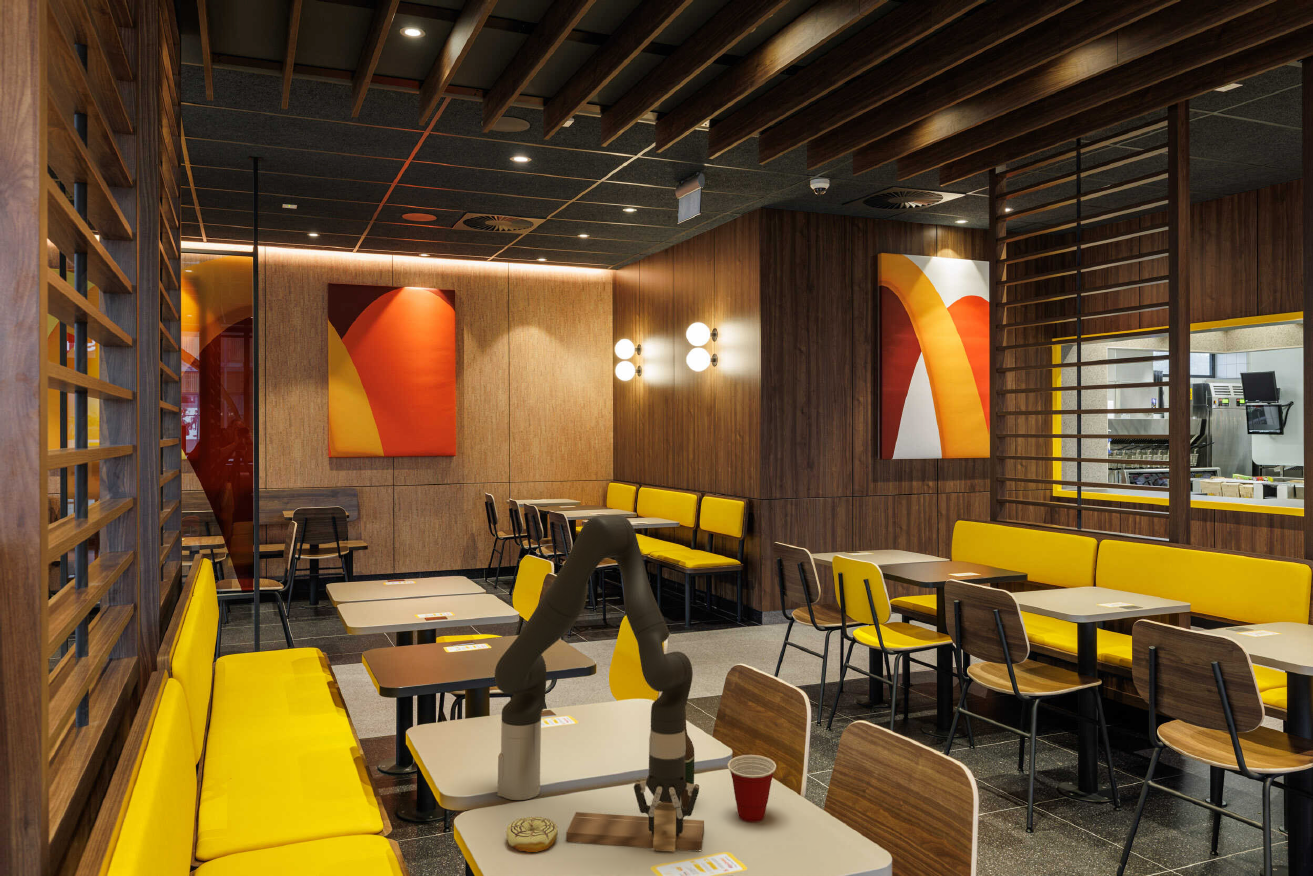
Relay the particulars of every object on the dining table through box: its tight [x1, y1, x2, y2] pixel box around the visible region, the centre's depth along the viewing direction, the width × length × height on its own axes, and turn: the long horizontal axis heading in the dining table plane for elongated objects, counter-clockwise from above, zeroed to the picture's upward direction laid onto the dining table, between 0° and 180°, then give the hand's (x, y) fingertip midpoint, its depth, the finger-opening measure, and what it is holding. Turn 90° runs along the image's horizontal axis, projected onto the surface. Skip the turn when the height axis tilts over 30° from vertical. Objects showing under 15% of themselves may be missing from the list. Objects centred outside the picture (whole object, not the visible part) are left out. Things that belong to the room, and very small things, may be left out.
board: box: [565, 811, 705, 851], centre depth 187 cm, size 28×10×2 cm, turn 84°
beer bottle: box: [661, 702, 695, 808], centre depth 205 cm, size 8×8×24 cm
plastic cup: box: [727, 754, 777, 823], centre depth 198 cm, size 11×11×12 cm
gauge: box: [652, 801, 677, 852], centre depth 185 cm, size 4×10×8 cm, turn 173°
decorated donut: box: [505, 816, 559, 853], centre depth 184 cm, size 10×11×4 cm
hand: (665, 833), depth 183 cm, fingers closed on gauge, 4 cm apart
